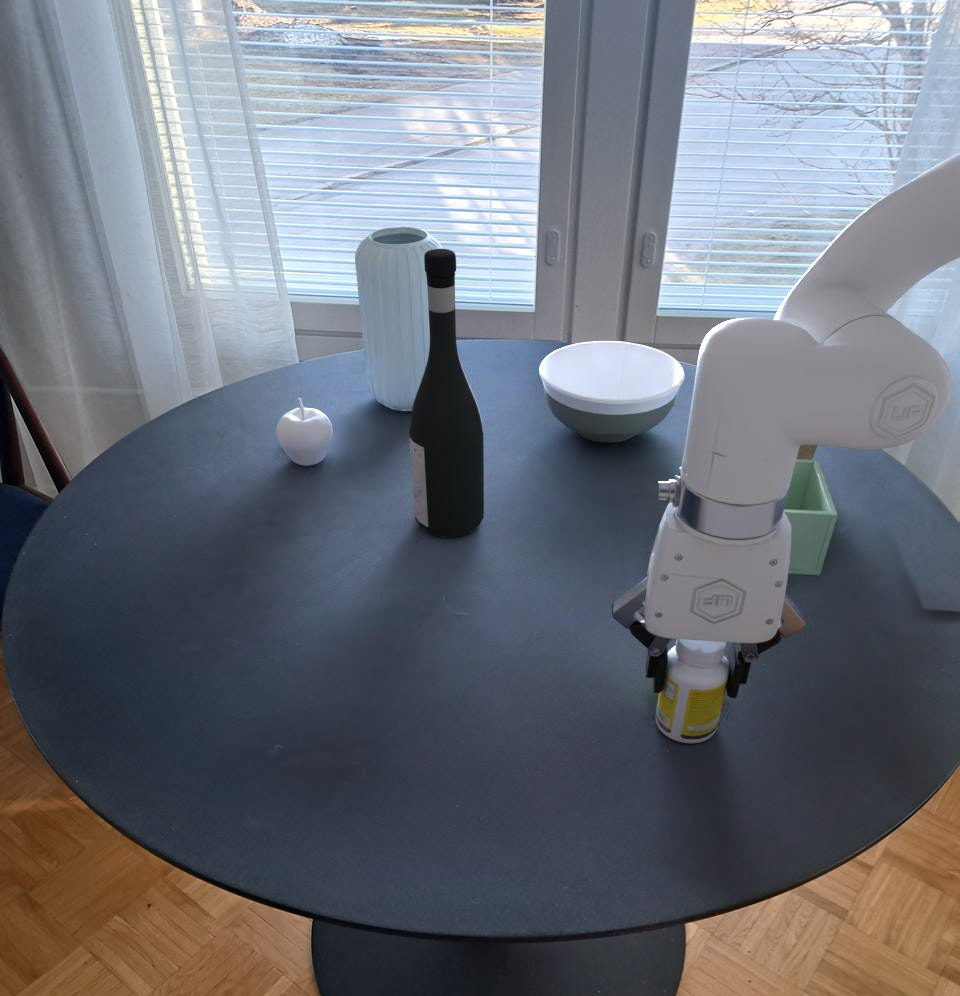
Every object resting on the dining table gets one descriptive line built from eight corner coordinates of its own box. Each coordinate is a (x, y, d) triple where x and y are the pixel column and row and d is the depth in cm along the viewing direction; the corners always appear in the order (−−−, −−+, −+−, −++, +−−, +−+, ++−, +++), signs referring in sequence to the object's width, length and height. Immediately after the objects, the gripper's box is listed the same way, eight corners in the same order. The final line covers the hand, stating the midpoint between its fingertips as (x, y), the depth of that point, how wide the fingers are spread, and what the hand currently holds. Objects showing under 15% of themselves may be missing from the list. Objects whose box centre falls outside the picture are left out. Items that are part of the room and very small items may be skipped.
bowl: (520, 449, 117) (521, 389, 112) (556, 389, 130) (559, 333, 125) (664, 471, 112) (672, 410, 107) (686, 406, 126) (694, 349, 121)
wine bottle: (408, 538, 102) (388, 264, 82) (421, 501, 108) (406, 237, 88) (479, 543, 101) (476, 268, 81) (488, 506, 107) (488, 240, 87)
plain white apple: (332, 442, 119) (324, 384, 114) (339, 468, 114) (332, 409, 109) (278, 449, 118) (268, 391, 112) (284, 475, 112) (274, 416, 107)
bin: (802, 518, 104) (818, 459, 99) (820, 575, 96) (837, 514, 91) (704, 513, 105) (714, 455, 100) (712, 569, 97) (724, 509, 92)
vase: (353, 409, 126) (336, 243, 112) (391, 376, 134) (379, 217, 120) (428, 423, 123) (419, 254, 108) (461, 389, 131) (458, 227, 116)
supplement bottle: (726, 716, 80) (747, 632, 73) (701, 754, 76) (720, 669, 70) (670, 693, 82) (685, 609, 76) (643, 729, 79) (657, 644, 72)
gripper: (609, 522, 62) (591, 708, 74) (864, 535, 61) (804, 723, 73) (609, 468, 68) (592, 648, 80) (842, 479, 67) (790, 661, 78)
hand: (693, 682), depth 76 cm, fingers closed on supplement bottle, 5 cm apart
